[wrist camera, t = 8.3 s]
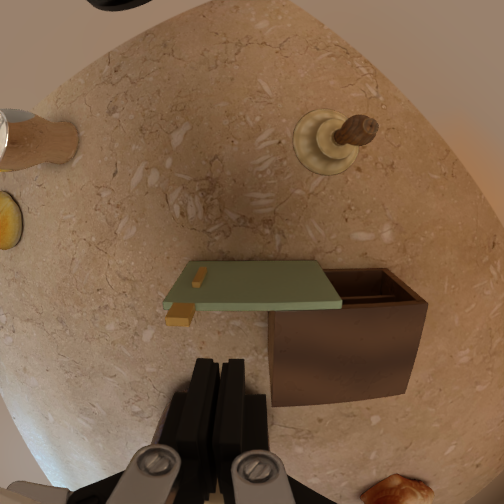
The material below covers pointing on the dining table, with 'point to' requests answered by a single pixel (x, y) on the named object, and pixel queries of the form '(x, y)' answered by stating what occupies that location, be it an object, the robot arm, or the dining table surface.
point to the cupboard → (347, 342)
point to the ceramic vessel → (398, 492)
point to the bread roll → (9, 222)
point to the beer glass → (34, 140)
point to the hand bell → (331, 140)
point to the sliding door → (248, 288)
